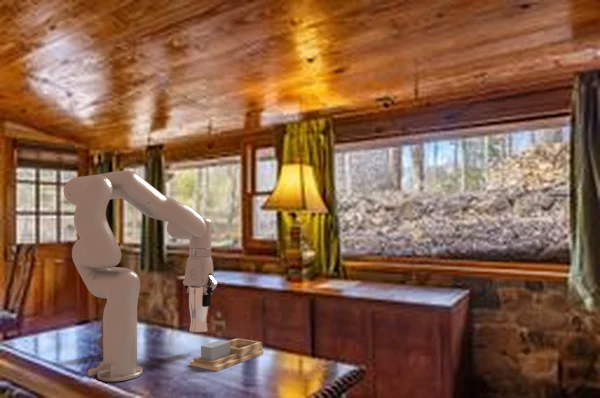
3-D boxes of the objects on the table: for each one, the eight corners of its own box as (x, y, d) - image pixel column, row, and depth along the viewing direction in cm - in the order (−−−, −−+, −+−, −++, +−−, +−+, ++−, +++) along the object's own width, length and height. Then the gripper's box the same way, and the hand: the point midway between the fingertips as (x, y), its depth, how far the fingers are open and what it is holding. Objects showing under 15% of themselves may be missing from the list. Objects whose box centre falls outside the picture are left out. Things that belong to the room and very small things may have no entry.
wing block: (211, 364, 154) (211, 347, 155) (201, 362, 157) (200, 346, 157) (230, 357, 162) (230, 341, 162) (219, 355, 164) (219, 340, 164)
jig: (217, 371, 151) (217, 357, 151) (189, 365, 158) (189, 352, 158) (263, 354, 169) (263, 342, 170) (236, 349, 176) (236, 338, 176)
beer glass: (211, 329, 177) (211, 286, 178) (205, 332, 170) (206, 287, 171) (191, 328, 178) (192, 285, 179) (185, 332, 171) (186, 287, 172)
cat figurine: (128, 354, 172) (128, 319, 173) (108, 360, 166) (108, 323, 166) (113, 351, 177) (112, 316, 177) (92, 356, 170) (92, 320, 171)
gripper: (175, 253, 178) (173, 304, 176) (210, 254, 168) (209, 308, 166) (190, 252, 184) (189, 302, 182) (226, 254, 174) (225, 306, 173)
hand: (199, 305), depth 174 cm, fingers closed on beer glass, 6 cm apart
